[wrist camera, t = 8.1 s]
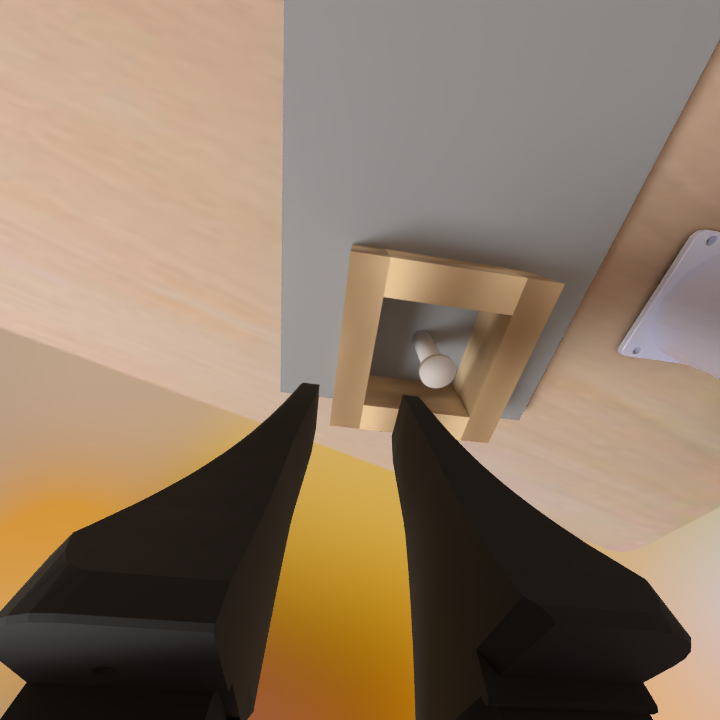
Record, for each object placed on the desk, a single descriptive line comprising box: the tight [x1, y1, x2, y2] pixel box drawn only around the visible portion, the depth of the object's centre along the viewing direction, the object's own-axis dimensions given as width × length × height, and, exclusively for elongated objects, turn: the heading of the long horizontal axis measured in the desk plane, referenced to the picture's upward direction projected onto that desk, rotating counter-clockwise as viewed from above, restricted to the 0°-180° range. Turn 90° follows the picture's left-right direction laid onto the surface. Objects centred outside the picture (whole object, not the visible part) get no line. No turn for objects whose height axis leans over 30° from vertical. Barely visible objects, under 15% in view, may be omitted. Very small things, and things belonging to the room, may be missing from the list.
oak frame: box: [330, 244, 565, 443], centre depth 16 cm, size 10×10×4 cm
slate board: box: [281, 0, 720, 420], centre depth 14 cm, size 18×22×6 cm
